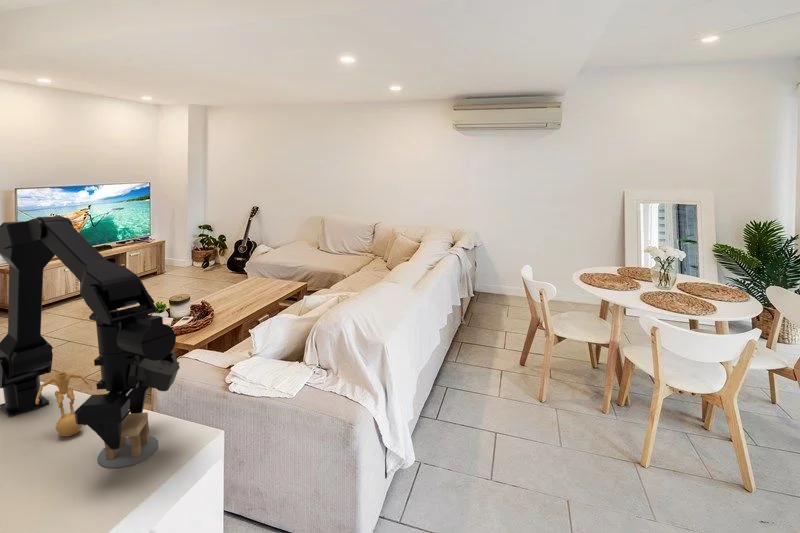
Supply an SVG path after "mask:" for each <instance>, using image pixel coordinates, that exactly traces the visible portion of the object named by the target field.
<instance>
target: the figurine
mask: <svg viewBox="0 0 800 533" xmlns="http://www.w3.org/2000/svg"><path fill="white" fill-rule="evenodd" d="M71 378H73V379H74V378H75V379H81V380H82V381H83V382H84V384H86V385H87V386H88V388H89V390H90V391H92V390H93V386H92V385H91V383H90V382H89V381H88V380H87V379H86V378H85V376H84V375H82V374H75V373H71V372H66V371H64V370H60V371H57V372H56V373H55V374H54V376H52V377H50V378H49V379H48V380H46V381H44V382H43V383H42V384H40V385H41V386H40V388H39V392H38V394H37V397H36V404H37V402H38V401H40V400H39V399H38V398H39V397H40V395H41V392H43V389H44V388H45V387H47V386H48V385H50V384H51V383H54V384H55V385H56V387H57V389H58V390H56V391H54V396H55V399H56V400H55V401H56V403H57V404H58V408H59V409H60V414H61V416H60V417H59V419H57V421H56V425H55V430H56V433H58V434H59V435H60V436H63V437H70V436H73V435H76V434H77V433H79V432H80V430H81V429H82V428H83V426H84V425H82V424H80V425H78V424H76V421H75V409H74V404H75V400H76V399H75V394H74V388H73V387H69V383H70V381H71ZM64 395H66V397H67V398H68V399H69V400H70V401H69V410H70V413H67V414H66V412H65V409H64V404H63V401H64V400H65V396H64ZM38 404H39V402H38Z"/></svg>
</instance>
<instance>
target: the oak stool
mask: <svg viewBox="0 0 800 533" xmlns="http://www.w3.org/2000/svg"><path fill="white" fill-rule="evenodd" d="M148 414H149V413H148V412H142V413H132V414H131V413H129V414H128V415H127V416H126V418H125V419H124V420H123V421H122V427H121V440H120V446H124V444H125V443H126V437H130V440H131V451H132V458H135V457H140V455H141V453H142V451H141V444H148V442H149V441H150V437H149V436H150V426H149V424H150V423H149V415H148ZM104 448H105V452H106V460H113V459H114V458H115V457H116V449H114V450H112V449H110V447H109V446H108V445H107V444H106V443H105V442H104Z"/></svg>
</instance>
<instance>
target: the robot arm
mask: <svg viewBox="0 0 800 533" xmlns="http://www.w3.org/2000/svg"><path fill="white" fill-rule="evenodd" d="M0 256H1V258H2V259H3V260H4V261H5V262H6V263H7V264H8V266H9V267H8V314H7V316H8V318H7V319H8V320H7V334H6V335H5V336H4V337H3V339H2V340H1V341H0V389H2V392H3V399H4V403H1V404H0V410H1V411H2V412H3V413H5V414H6V415H7V416H8V417H13V416H17V415H20V414H23V413H26V412H28V411H32V410H34V409H38V408H41V407H44V406H48V405H50V400H48V399H47V398H45V397H44V396H43V393H42V392H43V391H42V392H41V395H40V397H39V398H38V399H39V400H40V401H38V402H39V404H38V402H37V404H36V397H37V394H38V392H39V388H40V386H41V385H42V384H41V379H40V376H42V375H46V374H51V372H52V366H53V357H54V356H53V355H54V353H53V346H52V345H51V344H50V343H49V341H47V340H46V339H45V337H43V335H42V332H41V331H42V312H43V311H42V308H43V290H44V289H43V287H44V269H45V268H46V267H47V266H48V264H50V262H51V261H52V260H53V259H54V258H55V256H56V257H57V259H58V260H59V261H60V262H62V264H63V265H64V266H65V267H66V268H67V269H68V270H69V271H70V272H71V274H73V275H74V276H75V277H76V278H77V280H78V281H79V283H80V288H79V295H80V296H81V297H82V299H83V300H84V303H85V304H86V306H87V307H88V308H89V309H90V310H91V311H92V313H90V315H89V316H88V318H89V320H90V321H94V322H95V323H96V324H95V327H96V334H97V335H96V336H97V337H96V338H97V345H98V346H97V347H98V355H99V356H97V357H96V358H94V359H93V363H94V364H93V365H94V367H96V366H97V367H100V376H101V379H99V381H98V382H97V383H96V390H105V391H106V392H108V393H103V394H91V395H90V396H89V397H88V398H87V399H85V401H84V402H83V403H82V404H80V406H78V408H76V409H75V410H74V412H75V421H76V424H78V425H80V424H82V425H83V426H88V427H89V428H90V429H91V430H92V431H93V432H95V433H96V434H97V436H98V437H100V439H101V440H102V441H103V442H104V444H105V443H106V444H107V445H108V446H109V447H110V449H112V450H114V449H119V447H120V440H121V427H122V421H123V420H124V419H125V418H126V416H127V415H128V414H132V413H144V412H143V411H144V407H145V403H146V398H147V394H148V390H149V388H151V389H155V390H156V391H159V392H167V391H169V389H170V388H171V387H172V385H173V384H174V382H175V380H176V377H177V374H178V371H179V369H181V367H180V362H179V361H178V358H177V353H176V352H174V351H173V349H174V348H175V346H176V341H177V336H176V333H175V331H174V329H173V328H172V327H171V326H170V325H169V324H165V323H164V319H163V317H162V316H161V315H151V314H156V313H157V312H158V309H157V306H156V305H155V300H154V298H152V296H151V295H150V293H149V292H148V290H147V289H146V287H145V284H144V282H143V281H142V280H141V279H140V277H139V276H138V275H137V274H136V273H135V272H134V271H132V270H130V269H129V268H127V267H126V266H124V265H122V264H119V263H115V262H113V261H109V260H108V259H106V258H105V257H104V256H103V255H102V254H101V253H100V252H99V250H97V249H96V248H95V247H94V246H93V245H92V244H91V243H90V242H89V241H88V240H87V239H86V238H85V237H84V236H83V235H82V234H81V233H80V232H79V231H78V230H77V229H76V228H75V227H74V225H73V222H72V220H71V219H70V218H69V217H65V216H64V215H63V216H62V215H61V216H60V215H58V216H57V215H56V216H37V217H36V218H32V219H31V218H30V219H28V220H26V221H21V220H20V221H5V222H2V223H1V224H0ZM137 304H139V305H137ZM135 305H136V306H135Z"/></svg>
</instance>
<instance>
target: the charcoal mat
mask: <svg viewBox="0 0 800 533" xmlns="http://www.w3.org/2000/svg"><path fill="white" fill-rule="evenodd" d="M149 437H150V441H149V442H148V444H141V451H142V453H141V455H140V457H135V458H132V451H131V440H130V436H129V437H126V443H125V444H124V446H120V447H119V449H116V457H115V458H114V459H113V460H106V452H105V447H104V448H103V449H101V450H100V452H99V453H98V454H97V464H99V466H100V467H103V468H105V469H123V468H128V467H131V466H132V467H133V466H134V465H136V464H139V463H141V462H144V461H146V460H148V459H149V458H150V457H152V456H153V455H154V454H155V453H156V452H157V450H158V449H159V440H158V439H157V438H156V437H155V436H152V435H149Z"/></svg>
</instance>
